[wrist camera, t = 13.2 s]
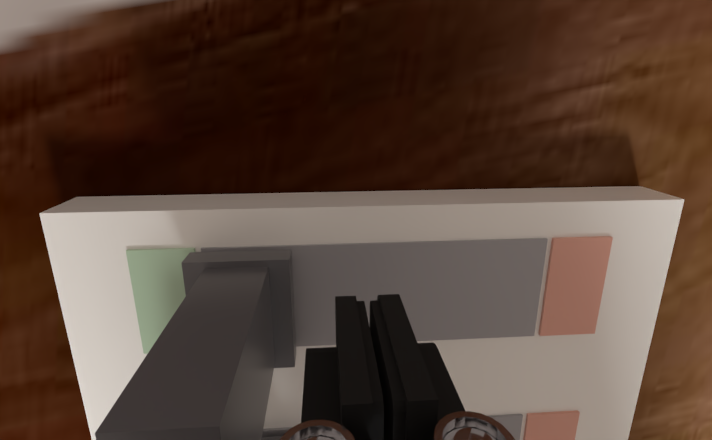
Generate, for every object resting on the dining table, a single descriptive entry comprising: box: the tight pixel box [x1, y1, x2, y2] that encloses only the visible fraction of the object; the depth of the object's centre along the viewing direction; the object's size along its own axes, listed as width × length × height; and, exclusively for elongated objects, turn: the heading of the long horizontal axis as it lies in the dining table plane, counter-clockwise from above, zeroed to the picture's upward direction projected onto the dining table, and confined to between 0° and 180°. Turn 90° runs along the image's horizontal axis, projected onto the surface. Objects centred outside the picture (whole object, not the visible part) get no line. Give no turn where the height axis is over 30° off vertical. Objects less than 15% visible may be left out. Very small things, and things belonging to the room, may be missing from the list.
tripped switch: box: [95, 250, 296, 440], centre depth 10 cm, size 3×4×7 cm
